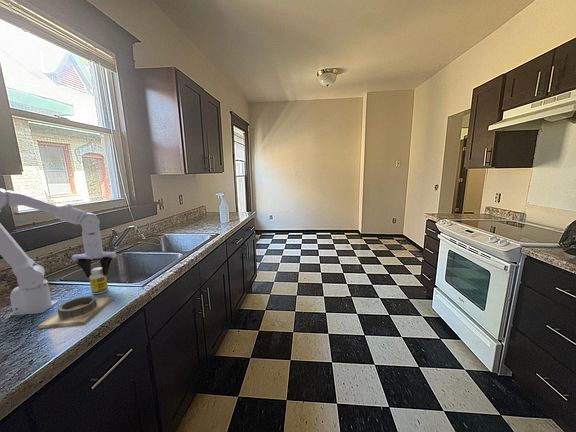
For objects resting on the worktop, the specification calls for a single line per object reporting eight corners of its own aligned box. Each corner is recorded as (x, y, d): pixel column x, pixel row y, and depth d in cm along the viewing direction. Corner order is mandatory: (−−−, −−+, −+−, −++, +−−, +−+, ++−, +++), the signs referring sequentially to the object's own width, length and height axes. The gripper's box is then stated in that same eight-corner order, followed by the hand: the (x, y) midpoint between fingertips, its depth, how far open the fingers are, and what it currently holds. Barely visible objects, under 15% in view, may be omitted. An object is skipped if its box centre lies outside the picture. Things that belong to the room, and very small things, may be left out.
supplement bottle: (99, 295, 98) (95, 271, 96) (88, 294, 99) (84, 271, 97) (111, 288, 103) (108, 266, 101) (100, 288, 104) (97, 266, 102)
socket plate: (38, 328, 77) (36, 318, 76) (74, 302, 93) (72, 293, 92) (84, 324, 79) (82, 314, 78) (112, 299, 94) (110, 291, 94)
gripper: (64, 247, 92) (70, 281, 94) (108, 244, 95) (113, 277, 97) (76, 242, 99) (81, 274, 101) (116, 240, 102) (120, 271, 104)
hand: (97, 275), depth 100 cm, fingers closed on supplement bottle, 5 cm apart
